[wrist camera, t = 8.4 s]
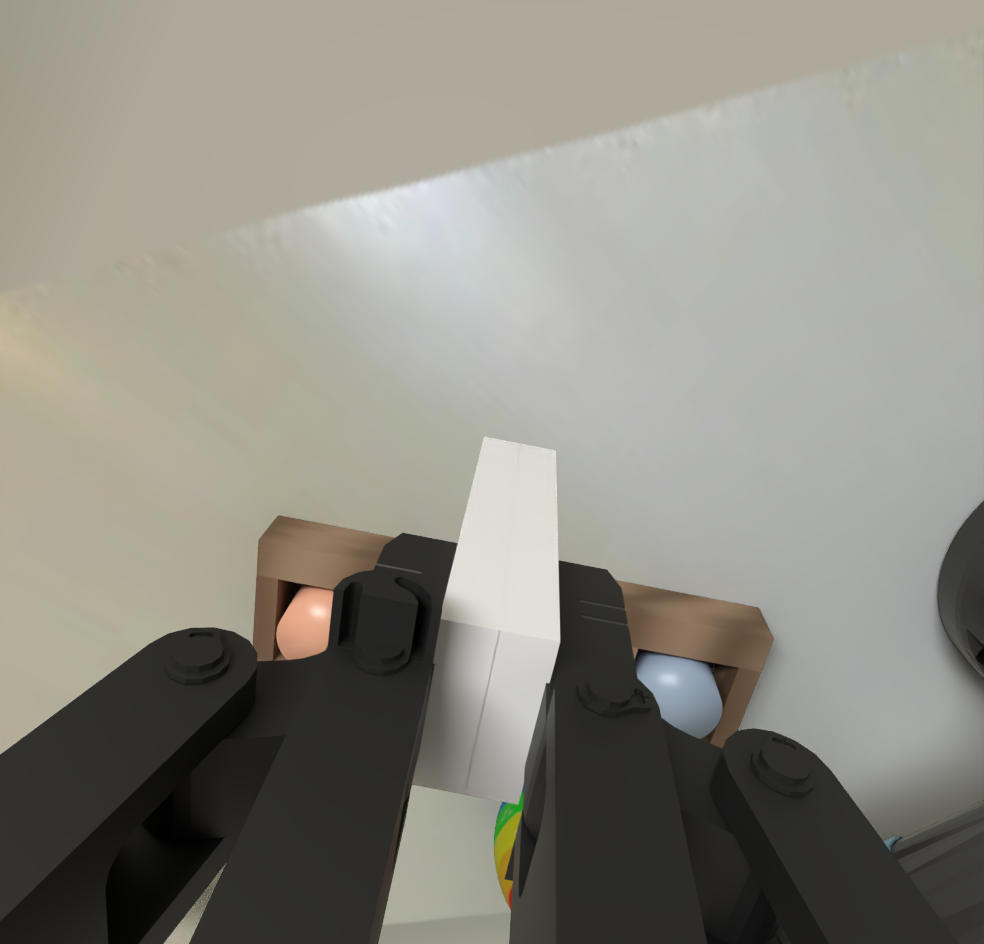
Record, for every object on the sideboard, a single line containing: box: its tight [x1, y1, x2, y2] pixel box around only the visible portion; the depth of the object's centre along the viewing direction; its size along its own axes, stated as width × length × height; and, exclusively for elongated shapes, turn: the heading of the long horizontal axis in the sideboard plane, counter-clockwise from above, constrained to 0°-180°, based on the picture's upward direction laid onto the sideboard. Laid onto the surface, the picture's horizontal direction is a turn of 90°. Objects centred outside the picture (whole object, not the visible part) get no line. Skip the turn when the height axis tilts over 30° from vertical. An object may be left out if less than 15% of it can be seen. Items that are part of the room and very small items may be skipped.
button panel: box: [253, 516, 774, 748], centre depth 42 cm, size 28×10×3 cm, turn 80°
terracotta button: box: [276, 584, 334, 660], centre depth 41 cm, size 5×5×4 cm
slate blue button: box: [635, 648, 722, 739], centre depth 41 cm, size 5×5×4 cm
